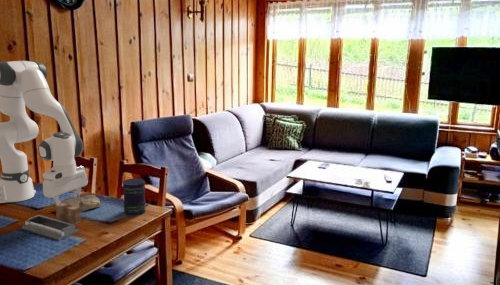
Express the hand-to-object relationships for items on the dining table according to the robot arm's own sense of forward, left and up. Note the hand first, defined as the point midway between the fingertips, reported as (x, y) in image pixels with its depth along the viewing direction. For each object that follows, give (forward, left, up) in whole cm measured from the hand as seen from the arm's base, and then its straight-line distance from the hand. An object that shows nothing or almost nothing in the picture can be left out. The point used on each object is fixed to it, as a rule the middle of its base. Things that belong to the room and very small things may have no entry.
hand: (68, 201), depth 176 cm
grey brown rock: (-10, +13, -10) cm, 19 cm away
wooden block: (-1, 0, -10) cm, 9 cm away
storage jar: (+17, +22, -10) cm, 30 cm away
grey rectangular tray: (0, -10, -9) cm, 14 cm away
